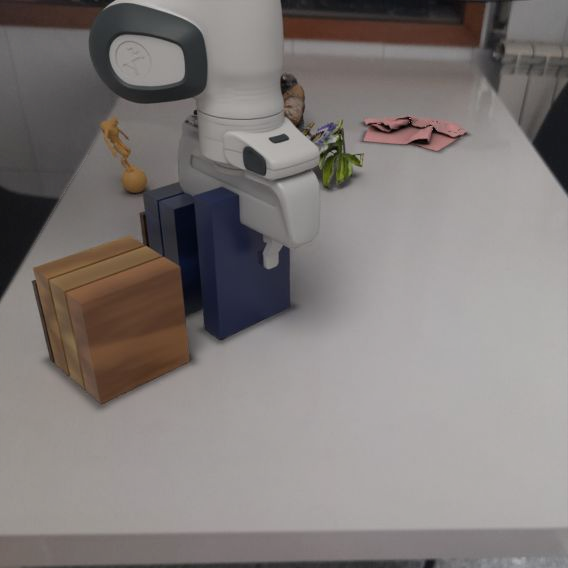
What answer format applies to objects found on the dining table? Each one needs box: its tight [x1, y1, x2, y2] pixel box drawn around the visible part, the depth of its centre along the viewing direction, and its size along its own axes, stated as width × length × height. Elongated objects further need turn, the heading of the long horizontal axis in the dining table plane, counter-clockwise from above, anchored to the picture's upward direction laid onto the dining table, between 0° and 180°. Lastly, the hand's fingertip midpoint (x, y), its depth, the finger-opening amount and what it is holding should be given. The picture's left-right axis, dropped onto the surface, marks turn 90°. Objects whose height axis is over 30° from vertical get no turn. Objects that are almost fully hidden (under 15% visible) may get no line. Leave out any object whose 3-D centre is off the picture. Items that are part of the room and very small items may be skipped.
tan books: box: [31, 235, 190, 405], centre depth 76 cm, size 10×11×12 cm
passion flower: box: [301, 118, 365, 190], centre depth 124 cm, size 11×11×12 cm
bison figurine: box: [280, 71, 306, 133], centre depth 141 cm, size 12×7×10 cm, turn 5°
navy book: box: [194, 187, 291, 341], centre depth 83 cm, size 3×11×17 cm, turn 136°
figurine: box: [99, 116, 148, 194], centre depth 113 cm, size 8×6×12 cm
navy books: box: [138, 181, 203, 317], centre depth 89 cm, size 7×11×14 cm
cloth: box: [363, 115, 468, 152], centre depth 146 cm, size 20×22×2 cm
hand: (246, 253), depth 82 cm, fingers open, 6 cm apart
